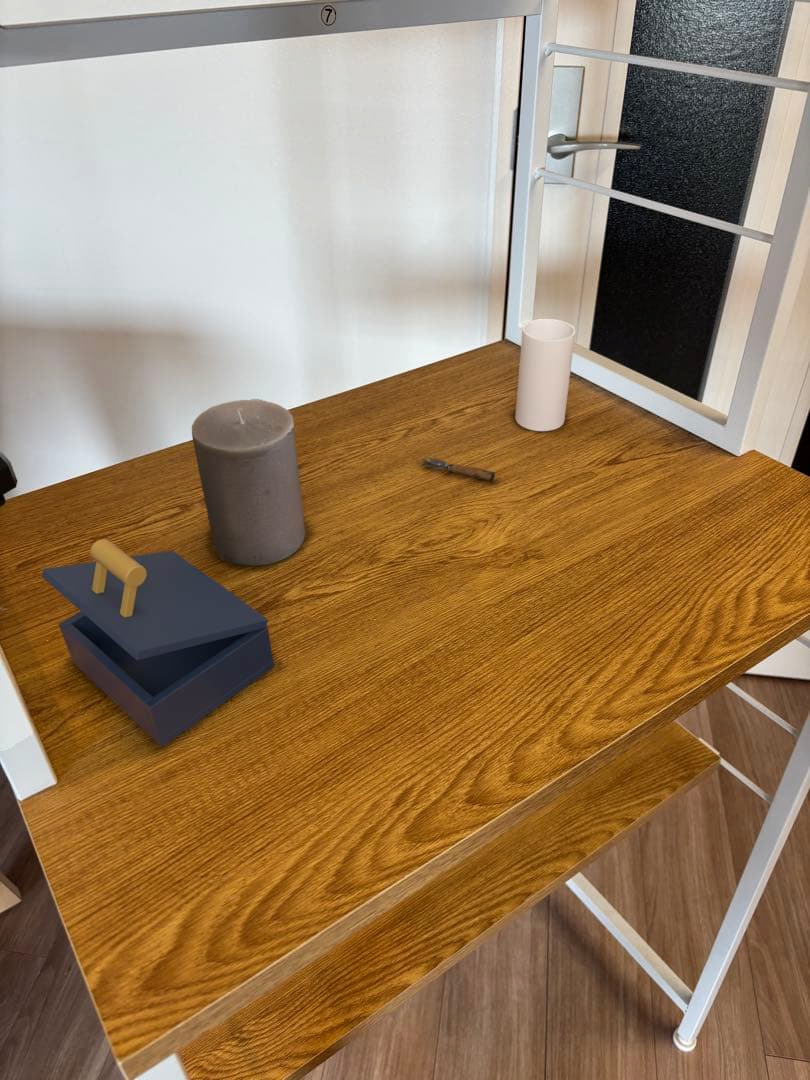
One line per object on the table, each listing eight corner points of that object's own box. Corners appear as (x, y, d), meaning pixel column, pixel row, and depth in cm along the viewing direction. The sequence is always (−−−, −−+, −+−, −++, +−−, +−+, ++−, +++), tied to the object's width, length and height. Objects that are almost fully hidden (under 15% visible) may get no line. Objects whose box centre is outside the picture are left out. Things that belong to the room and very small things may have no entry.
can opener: (495, 478, 94) (496, 470, 93) (486, 489, 93) (487, 480, 92) (425, 458, 98) (425, 450, 97) (416, 468, 96) (416, 459, 95)
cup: (505, 420, 105) (512, 331, 97) (532, 401, 108) (540, 314, 101) (547, 436, 101) (557, 345, 94) (573, 416, 105) (585, 327, 98)
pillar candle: (204, 567, 83) (176, 438, 74) (222, 509, 90) (200, 386, 81) (301, 567, 83) (285, 438, 73) (311, 509, 90) (299, 385, 81)
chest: (162, 747, 66) (150, 708, 63) (72, 662, 73) (58, 623, 70) (274, 666, 72) (268, 627, 69) (182, 596, 80) (173, 558, 77)
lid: (136, 660, 60) (148, 597, 58) (41, 577, 67) (49, 518, 65) (266, 627, 69) (279, 572, 67) (171, 558, 76) (181, 506, 75)
